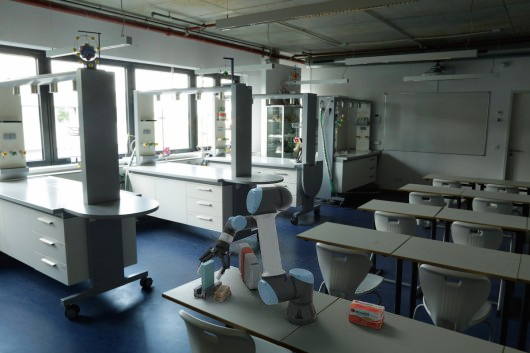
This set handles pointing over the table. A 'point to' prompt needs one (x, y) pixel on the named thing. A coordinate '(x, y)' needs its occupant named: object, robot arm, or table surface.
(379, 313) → the medicine box
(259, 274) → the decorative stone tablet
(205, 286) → the teal board
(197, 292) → the board rack
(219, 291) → the block
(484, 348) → the table surface
